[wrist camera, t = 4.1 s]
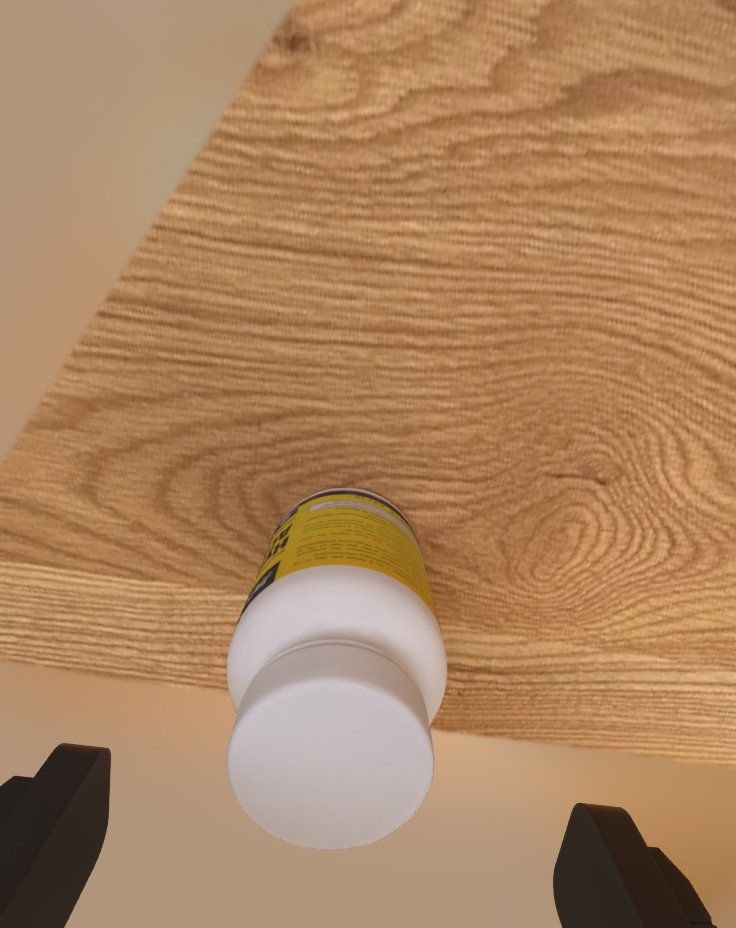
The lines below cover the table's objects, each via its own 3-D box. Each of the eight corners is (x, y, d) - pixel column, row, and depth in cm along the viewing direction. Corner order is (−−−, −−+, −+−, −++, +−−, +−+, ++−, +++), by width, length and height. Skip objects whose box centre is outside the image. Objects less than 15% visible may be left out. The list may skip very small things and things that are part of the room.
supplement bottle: (278, 473, 19) (199, 626, 9) (429, 494, 19) (505, 663, 9) (262, 609, 20) (179, 867, 10) (404, 627, 20) (447, 892, 11)
